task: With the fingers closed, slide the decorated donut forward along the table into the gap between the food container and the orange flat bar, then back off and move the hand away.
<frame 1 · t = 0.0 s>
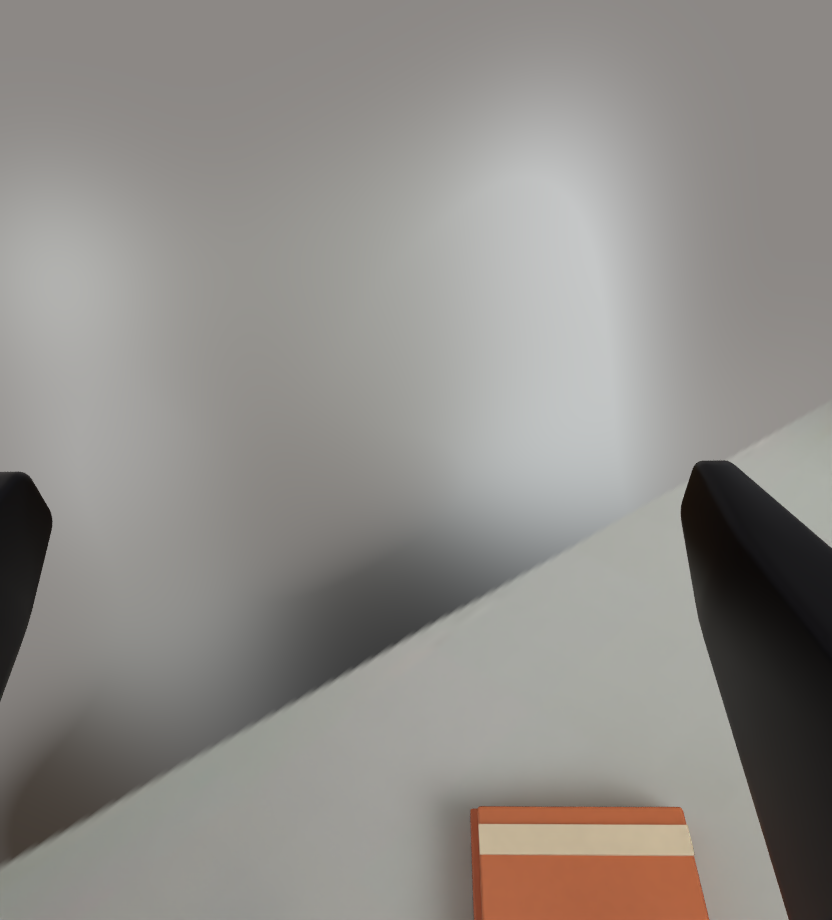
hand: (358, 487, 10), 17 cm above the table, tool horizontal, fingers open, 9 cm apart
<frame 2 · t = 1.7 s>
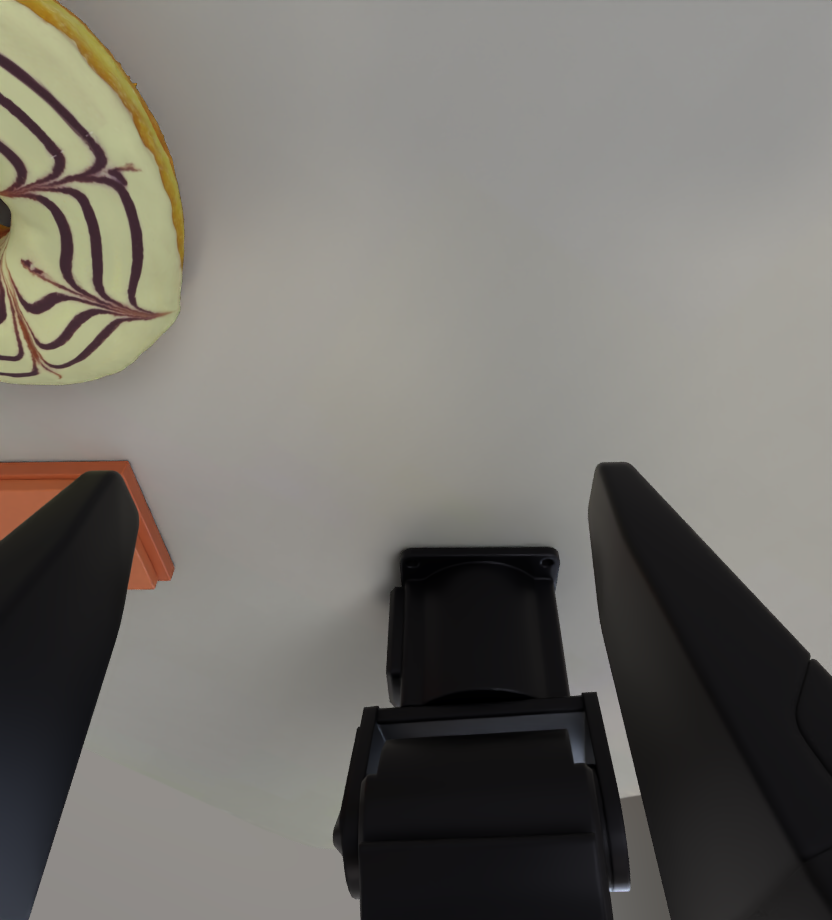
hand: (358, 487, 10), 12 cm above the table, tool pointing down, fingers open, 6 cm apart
decorated donut: (3, 161, 19), on the table
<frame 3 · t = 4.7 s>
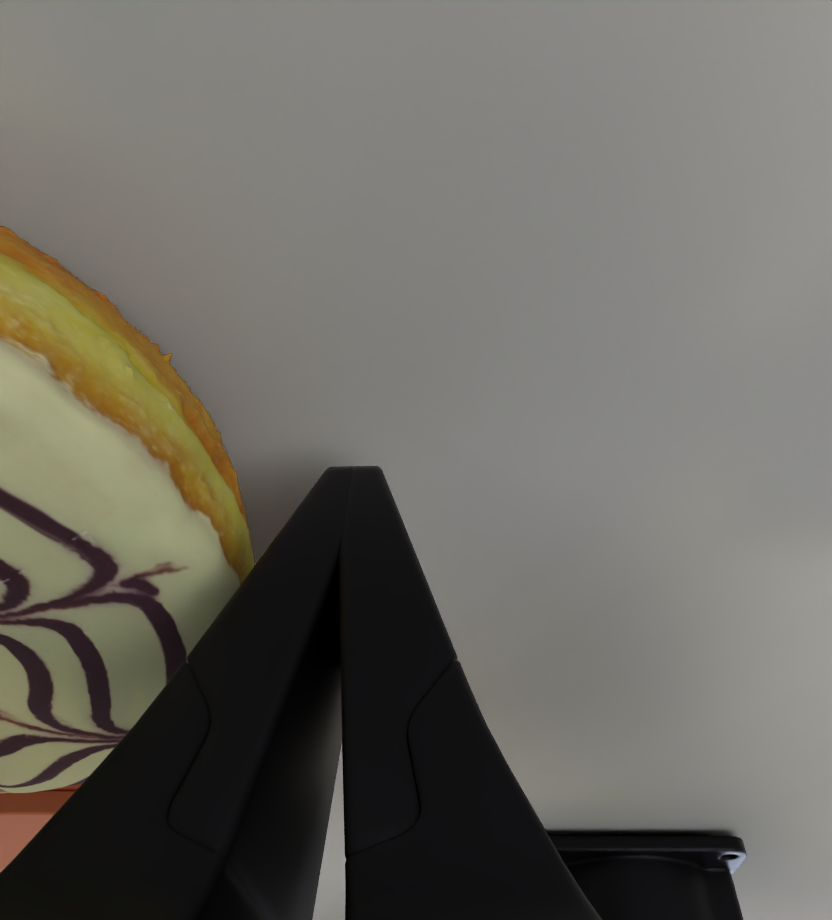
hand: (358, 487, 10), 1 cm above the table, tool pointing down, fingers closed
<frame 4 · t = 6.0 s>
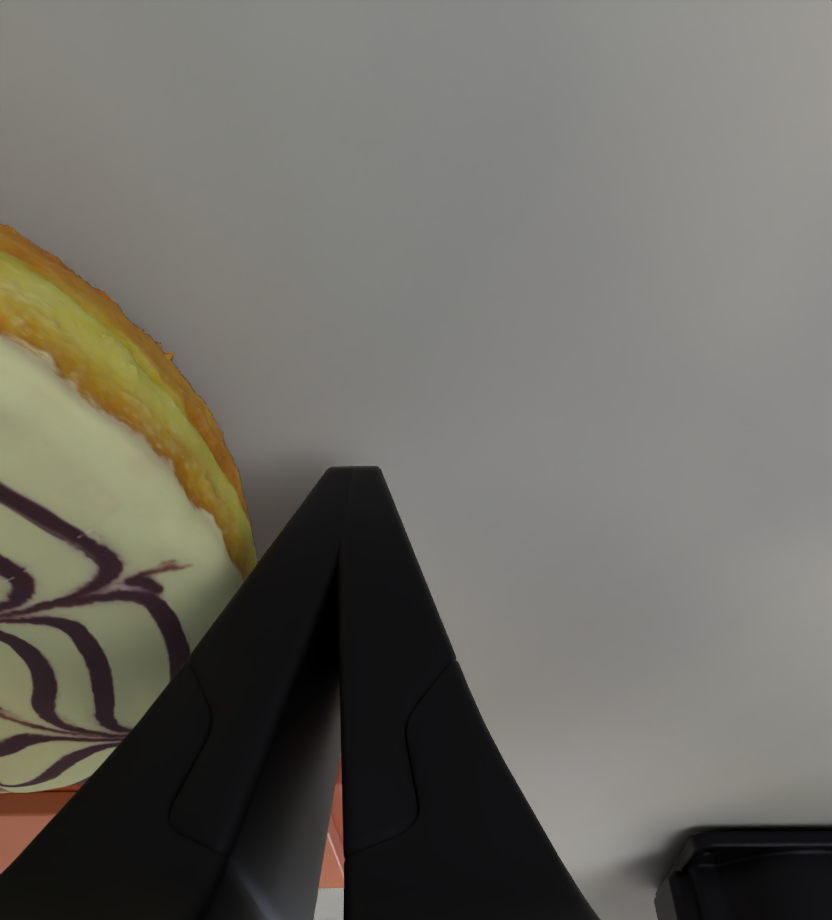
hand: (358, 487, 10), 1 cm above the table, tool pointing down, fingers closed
orange flat bar: (113, 807, 21), on the table
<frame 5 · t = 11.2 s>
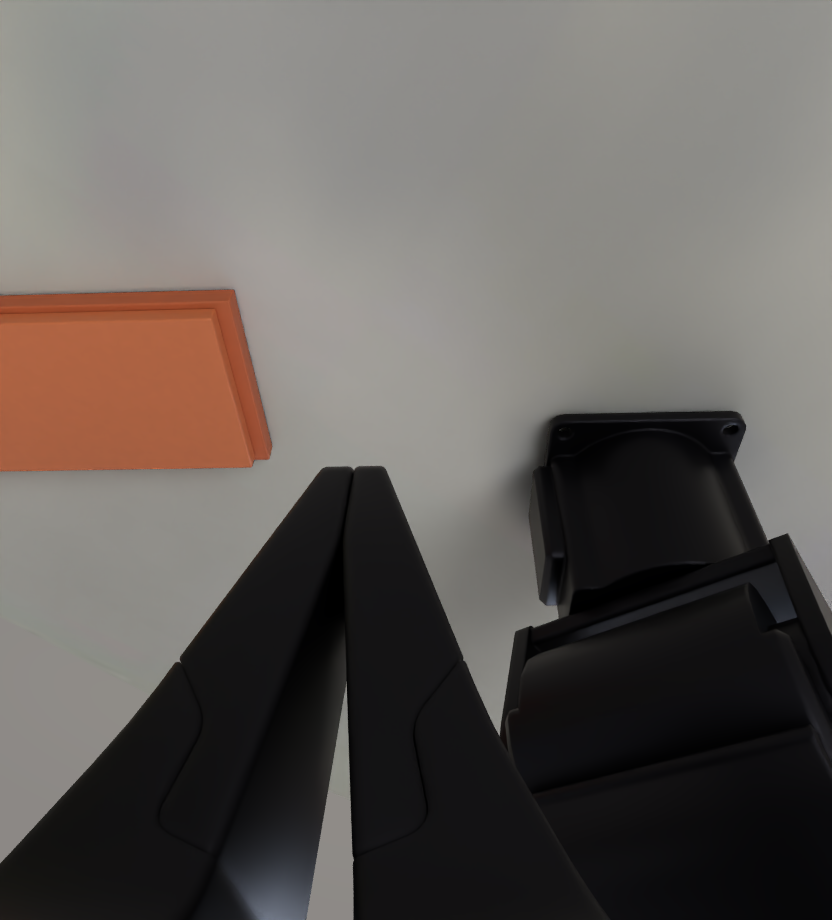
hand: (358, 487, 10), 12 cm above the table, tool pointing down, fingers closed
orange flat bar: (46, 379, 24), on the table
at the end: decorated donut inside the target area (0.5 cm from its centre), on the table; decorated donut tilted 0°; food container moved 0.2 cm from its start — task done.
